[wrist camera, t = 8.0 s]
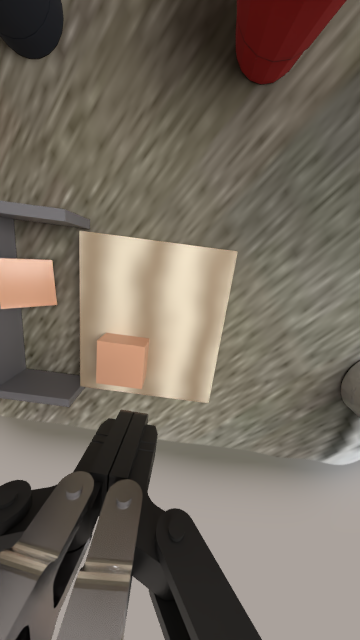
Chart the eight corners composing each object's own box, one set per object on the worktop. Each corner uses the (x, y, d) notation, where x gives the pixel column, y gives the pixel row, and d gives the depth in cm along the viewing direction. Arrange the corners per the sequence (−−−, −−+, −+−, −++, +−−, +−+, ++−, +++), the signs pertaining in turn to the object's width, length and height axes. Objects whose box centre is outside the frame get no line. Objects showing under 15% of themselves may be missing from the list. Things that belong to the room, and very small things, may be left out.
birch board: (231, 252, 24) (237, 251, 21) (206, 388, 29) (208, 403, 26) (92, 234, 24) (79, 230, 21) (90, 373, 29) (80, 386, 26)
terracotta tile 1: (-9, 257, 20) (-7, 257, 22) (1, 309, 22) (1, 304, 23) (52, 260, 23) (49, 259, 25) (57, 304, 25) (53, 301, 26)
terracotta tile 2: (149, 338, 24) (145, 346, 22) (145, 377, 25) (141, 389, 23) (106, 332, 24) (96, 340, 22) (104, 371, 25) (96, 383, 23)
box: (89, 219, 24) (64, 209, 19) (88, 382, 29) (69, 406, 25) (-1, 207, 24) (-49, 194, 19) (16, 373, 29) (-18, 395, 25)
